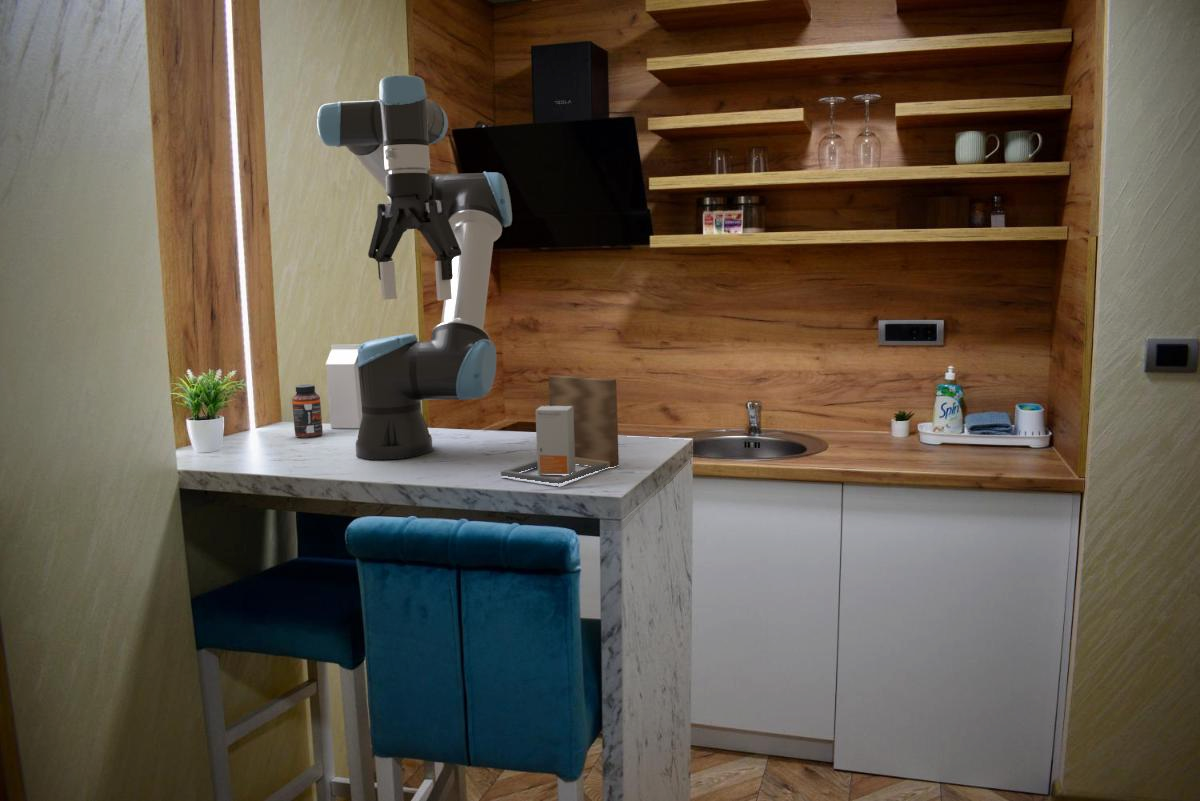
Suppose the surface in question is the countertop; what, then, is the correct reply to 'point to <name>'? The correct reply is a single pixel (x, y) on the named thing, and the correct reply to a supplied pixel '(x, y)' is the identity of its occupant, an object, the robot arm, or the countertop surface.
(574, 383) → the wall board
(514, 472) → the grey rectangular frame
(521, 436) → the countertop surface
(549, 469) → the skincare box
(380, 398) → the robot arm
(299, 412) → the supplement bottle
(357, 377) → the milk carton
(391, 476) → the countertop surface
